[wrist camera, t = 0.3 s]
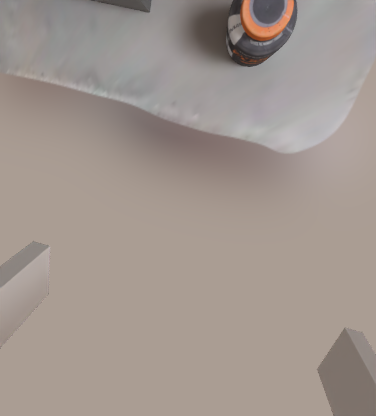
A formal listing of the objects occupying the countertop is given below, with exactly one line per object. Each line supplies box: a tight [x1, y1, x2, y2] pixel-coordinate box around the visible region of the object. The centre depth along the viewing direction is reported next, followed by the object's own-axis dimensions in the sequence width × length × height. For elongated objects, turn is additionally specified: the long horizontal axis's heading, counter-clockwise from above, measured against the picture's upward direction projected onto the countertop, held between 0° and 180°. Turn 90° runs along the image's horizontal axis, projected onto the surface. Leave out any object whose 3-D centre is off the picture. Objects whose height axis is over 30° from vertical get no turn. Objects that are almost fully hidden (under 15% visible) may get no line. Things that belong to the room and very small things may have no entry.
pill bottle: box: [226, 0, 297, 67], centre depth 26 cm, size 6×6×11 cm
